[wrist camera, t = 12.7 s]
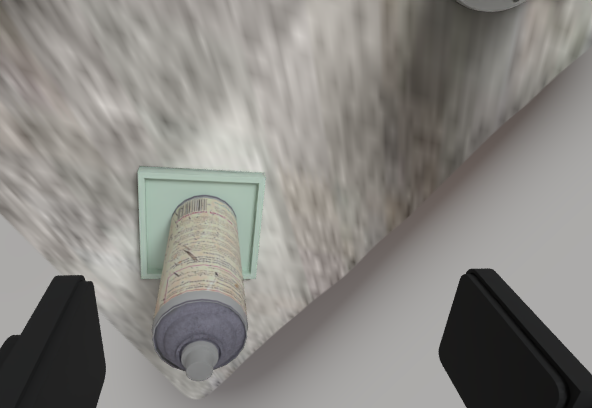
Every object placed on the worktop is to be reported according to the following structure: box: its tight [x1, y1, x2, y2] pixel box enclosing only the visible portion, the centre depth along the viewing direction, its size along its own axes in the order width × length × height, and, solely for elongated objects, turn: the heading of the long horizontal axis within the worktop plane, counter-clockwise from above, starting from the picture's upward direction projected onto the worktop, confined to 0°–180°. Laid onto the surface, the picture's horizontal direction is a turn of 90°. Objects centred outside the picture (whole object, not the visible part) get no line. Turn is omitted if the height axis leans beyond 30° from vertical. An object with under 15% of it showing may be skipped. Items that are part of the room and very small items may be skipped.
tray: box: [138, 166, 266, 279], centre depth 46 cm, size 12×12×2 cm
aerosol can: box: [152, 195, 248, 381], centre depth 37 cm, size 7×7×20 cm
